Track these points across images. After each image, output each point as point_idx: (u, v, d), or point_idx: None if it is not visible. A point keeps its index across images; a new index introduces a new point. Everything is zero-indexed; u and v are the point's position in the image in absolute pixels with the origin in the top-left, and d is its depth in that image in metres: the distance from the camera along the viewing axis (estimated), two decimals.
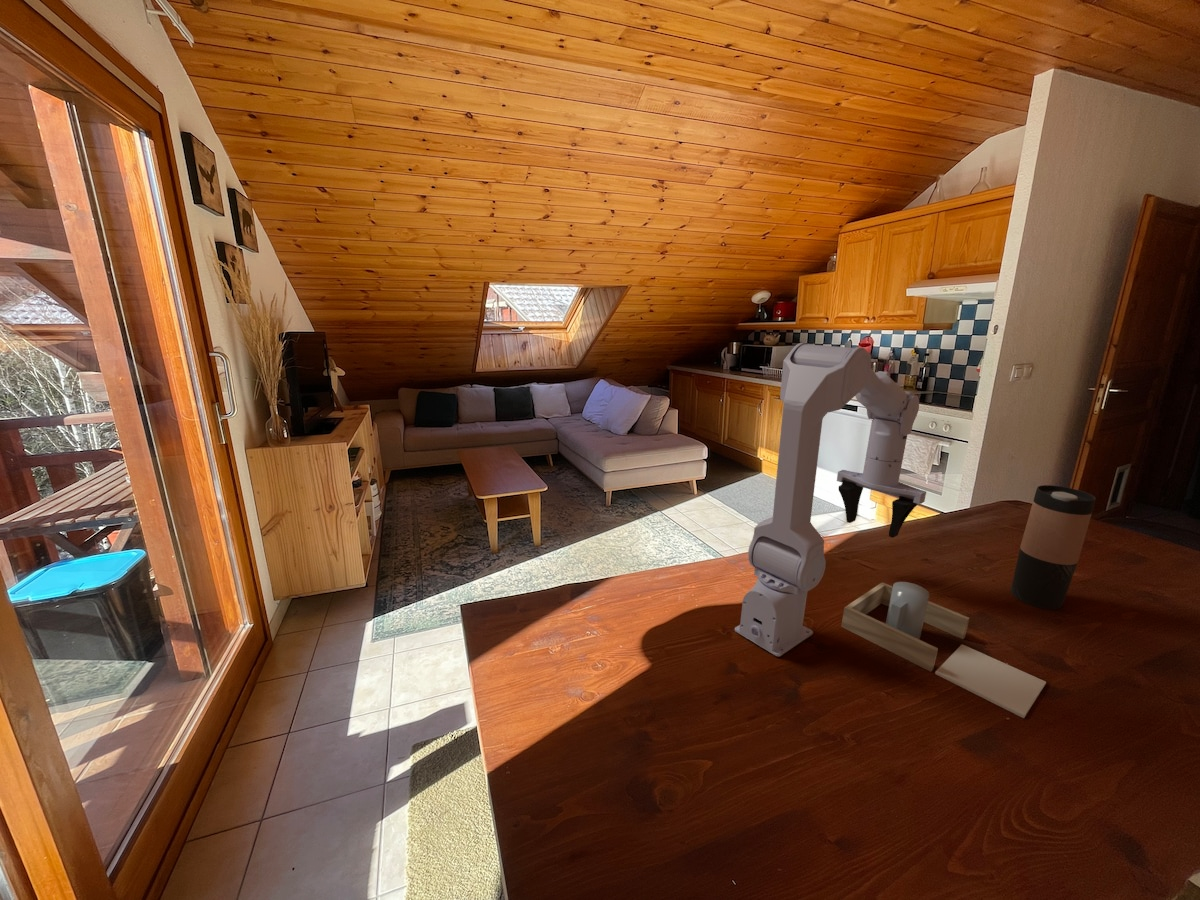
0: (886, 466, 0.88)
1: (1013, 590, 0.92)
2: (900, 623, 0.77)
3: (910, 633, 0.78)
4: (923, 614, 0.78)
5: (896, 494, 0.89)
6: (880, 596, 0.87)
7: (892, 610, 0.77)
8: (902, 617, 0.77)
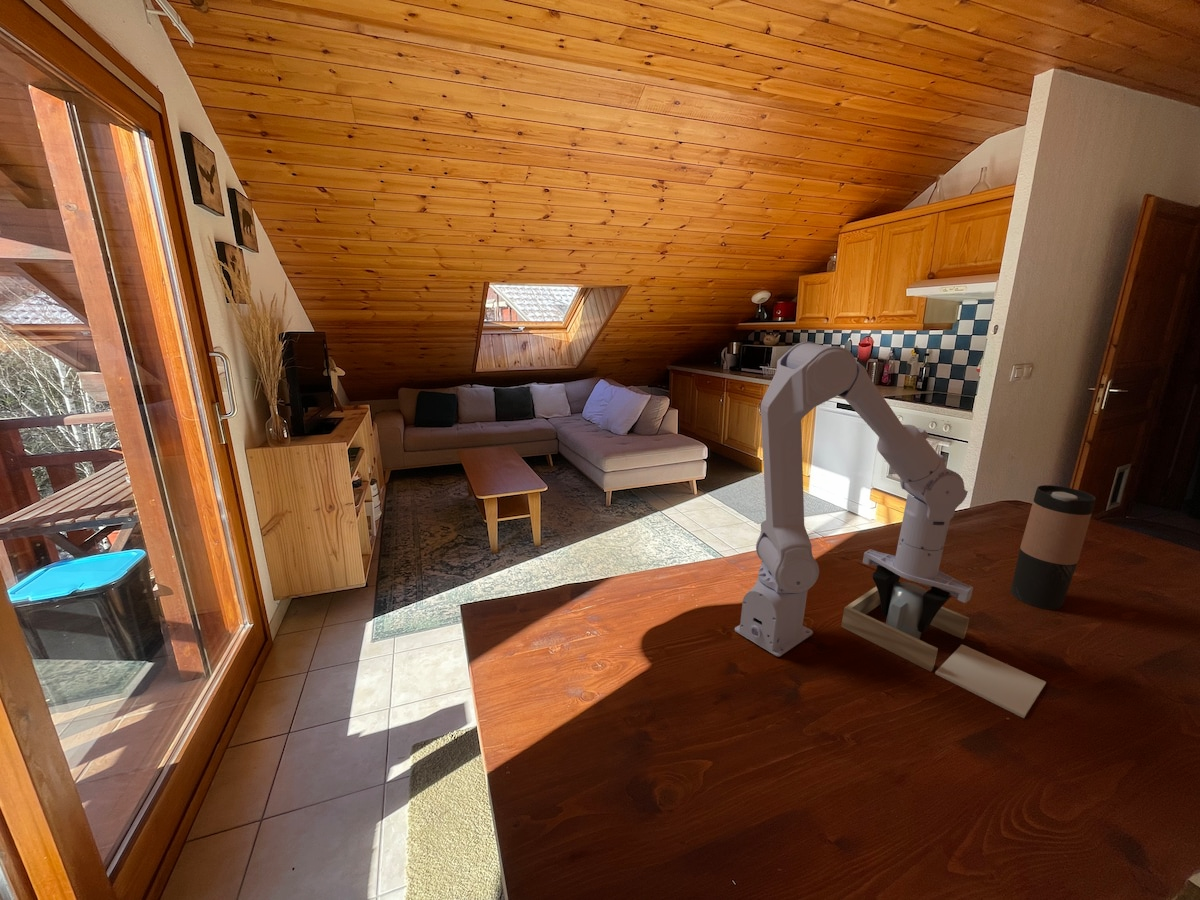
0: (925, 555, 0.74)
1: (1013, 590, 0.92)
2: (900, 623, 0.77)
3: (910, 633, 0.78)
4: None
5: (936, 587, 0.76)
6: None
7: (892, 610, 0.77)
8: (902, 617, 0.77)
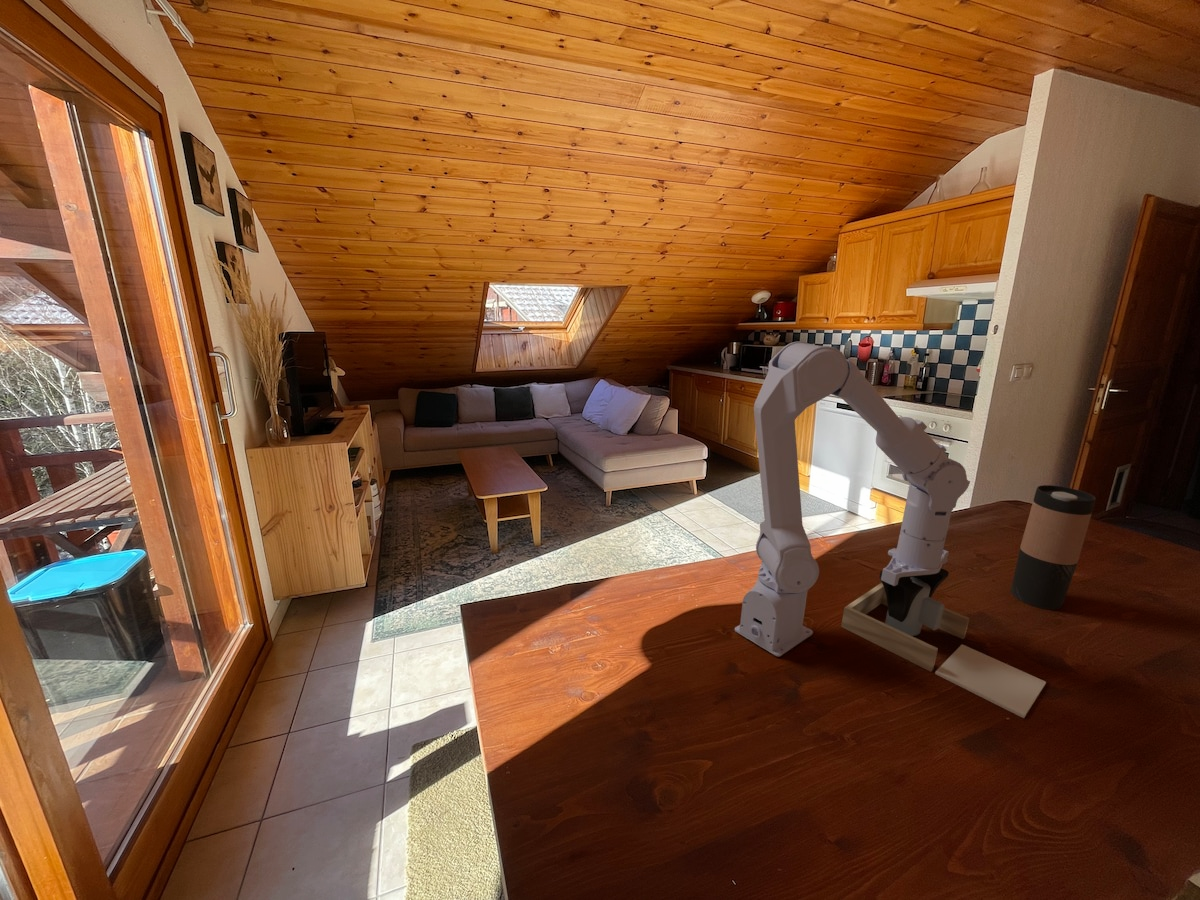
0: None
1: (1013, 590, 0.92)
2: None
3: None
4: None
5: None
6: (880, 596, 0.87)
7: (939, 612, 0.75)
8: None
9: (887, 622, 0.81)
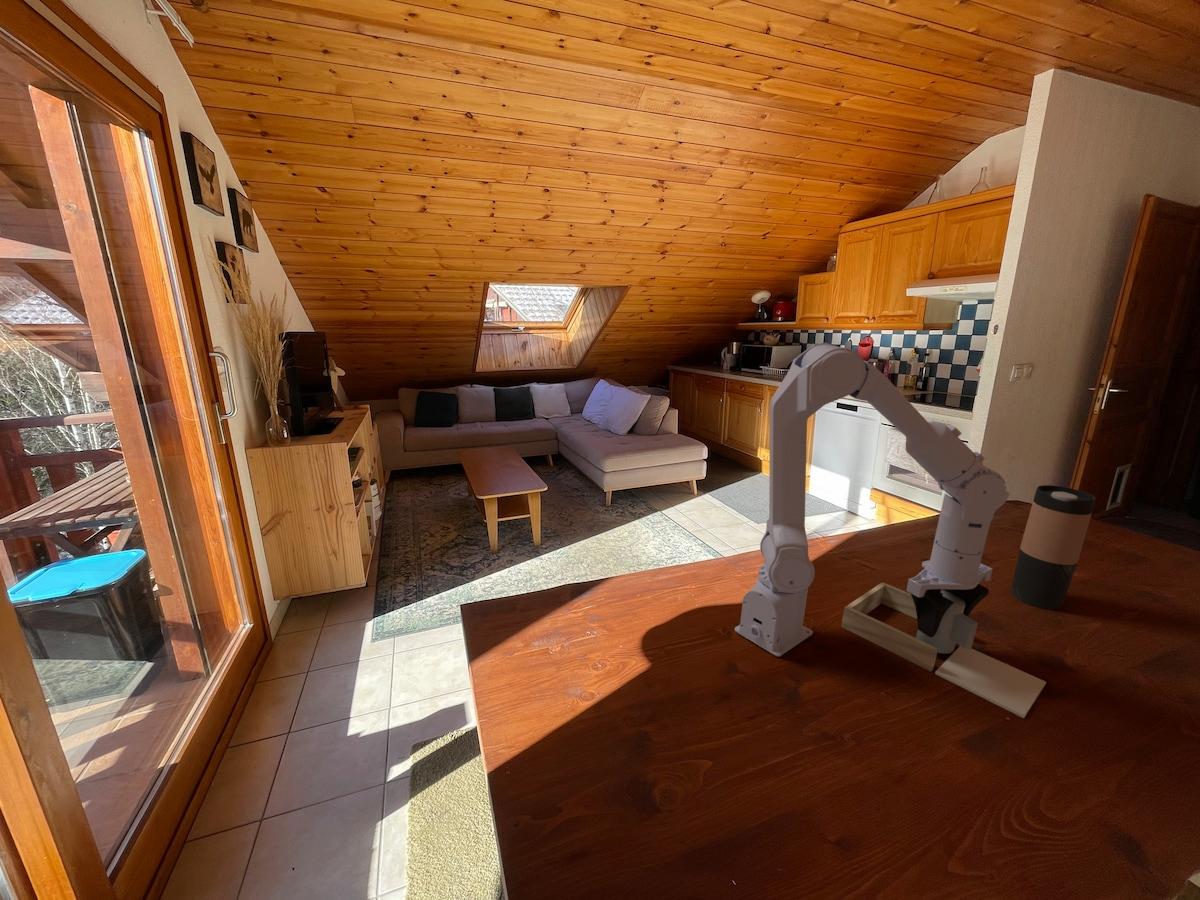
0: (981, 556, 0.71)
1: (1013, 590, 0.92)
2: None
3: None
4: None
5: None
6: (880, 596, 0.87)
7: (971, 630, 0.71)
8: None
9: (917, 637, 0.77)
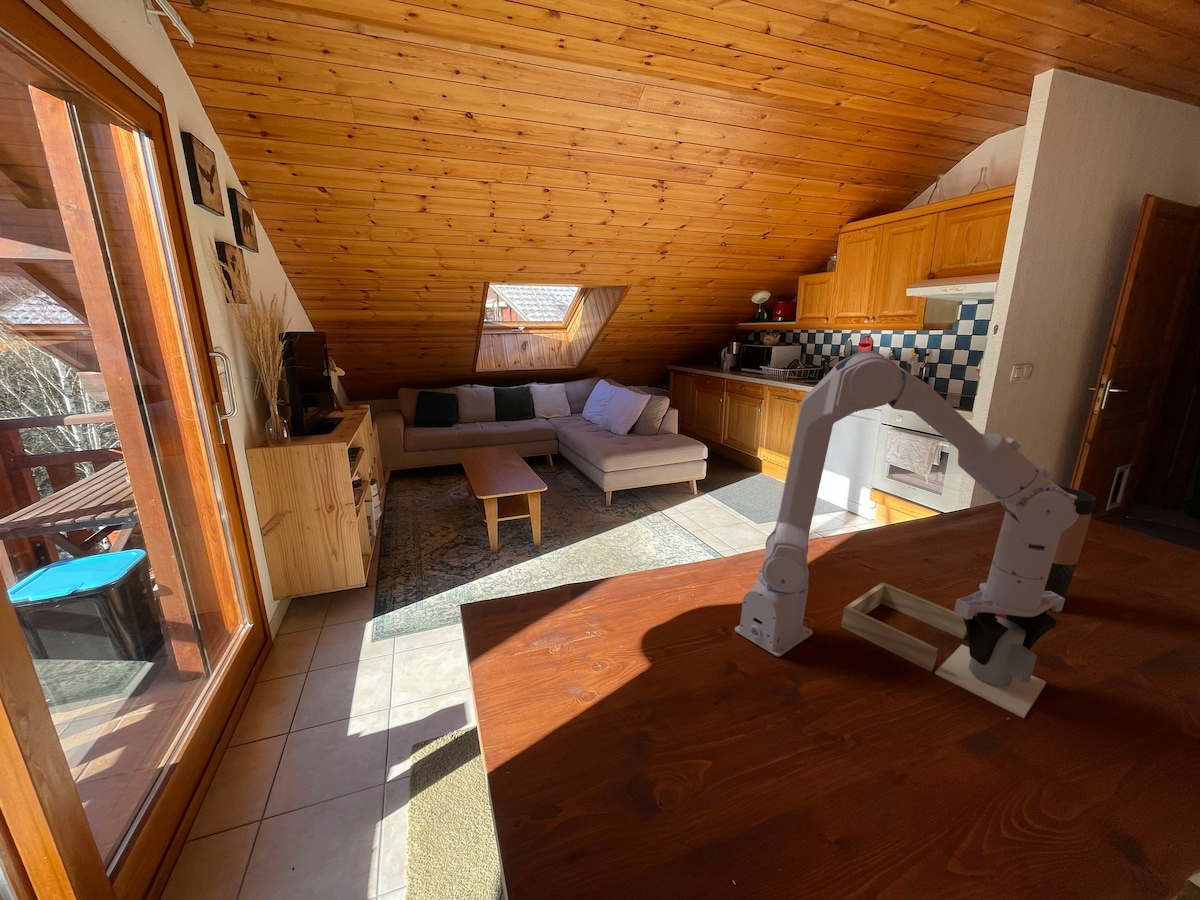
0: (1046, 582, 0.64)
1: None
2: None
3: None
4: None
5: None
6: (880, 596, 0.87)
7: (1028, 662, 0.65)
8: None
9: (969, 665, 0.72)
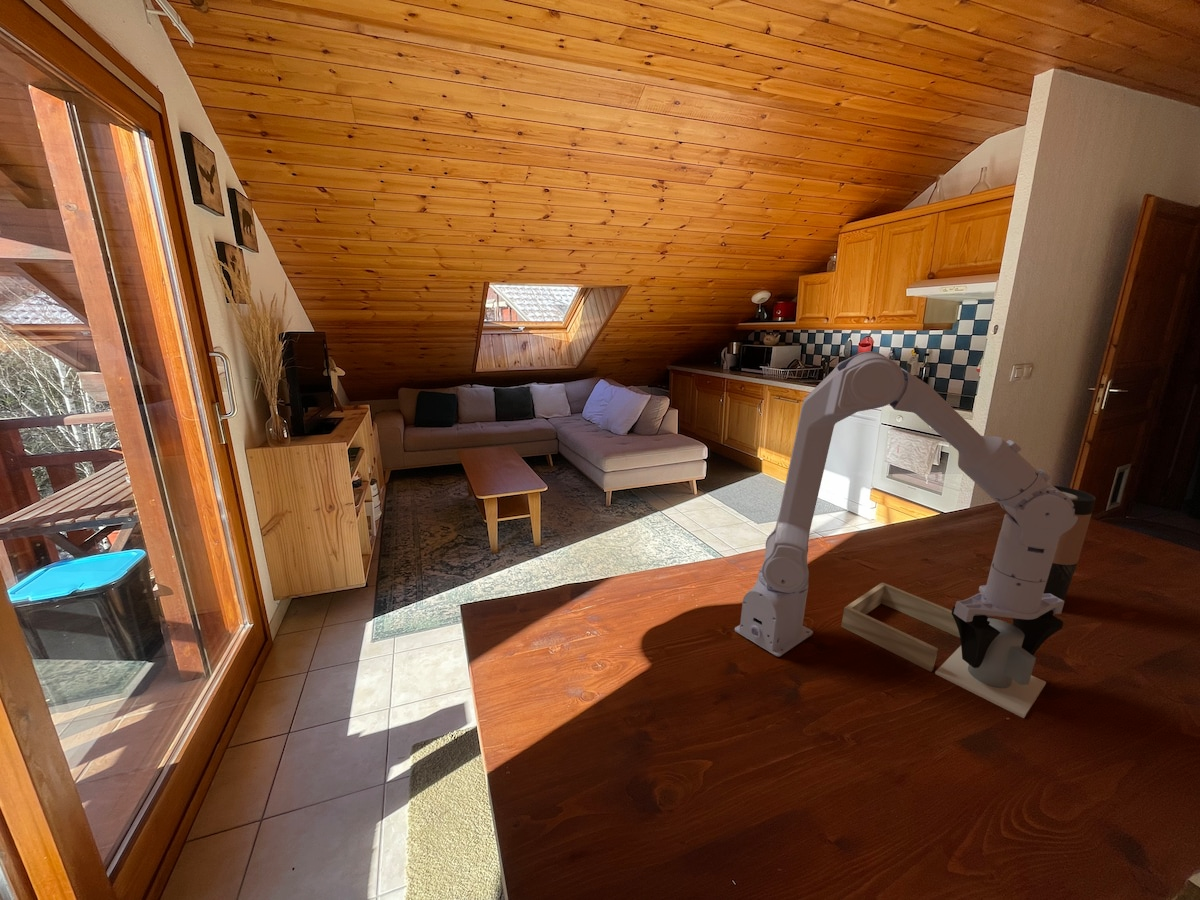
0: (1045, 585, 0.64)
1: None
2: None
3: None
4: None
5: None
6: (880, 596, 0.87)
7: (1027, 664, 0.65)
8: None
9: (969, 667, 0.72)
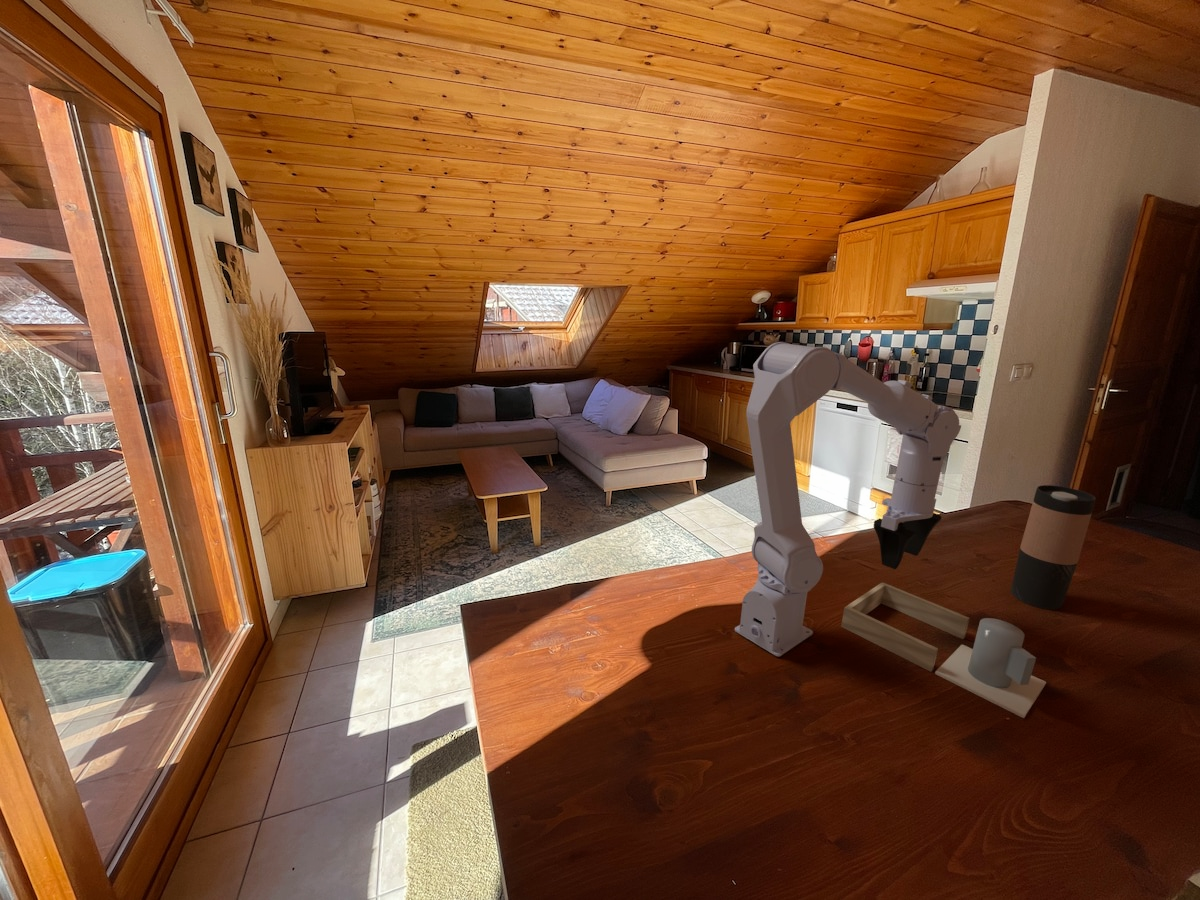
0: None
1: (1013, 590, 0.92)
2: None
3: None
4: None
5: None
6: (880, 596, 0.87)
7: (1027, 664, 0.65)
8: None
9: (969, 667, 0.72)
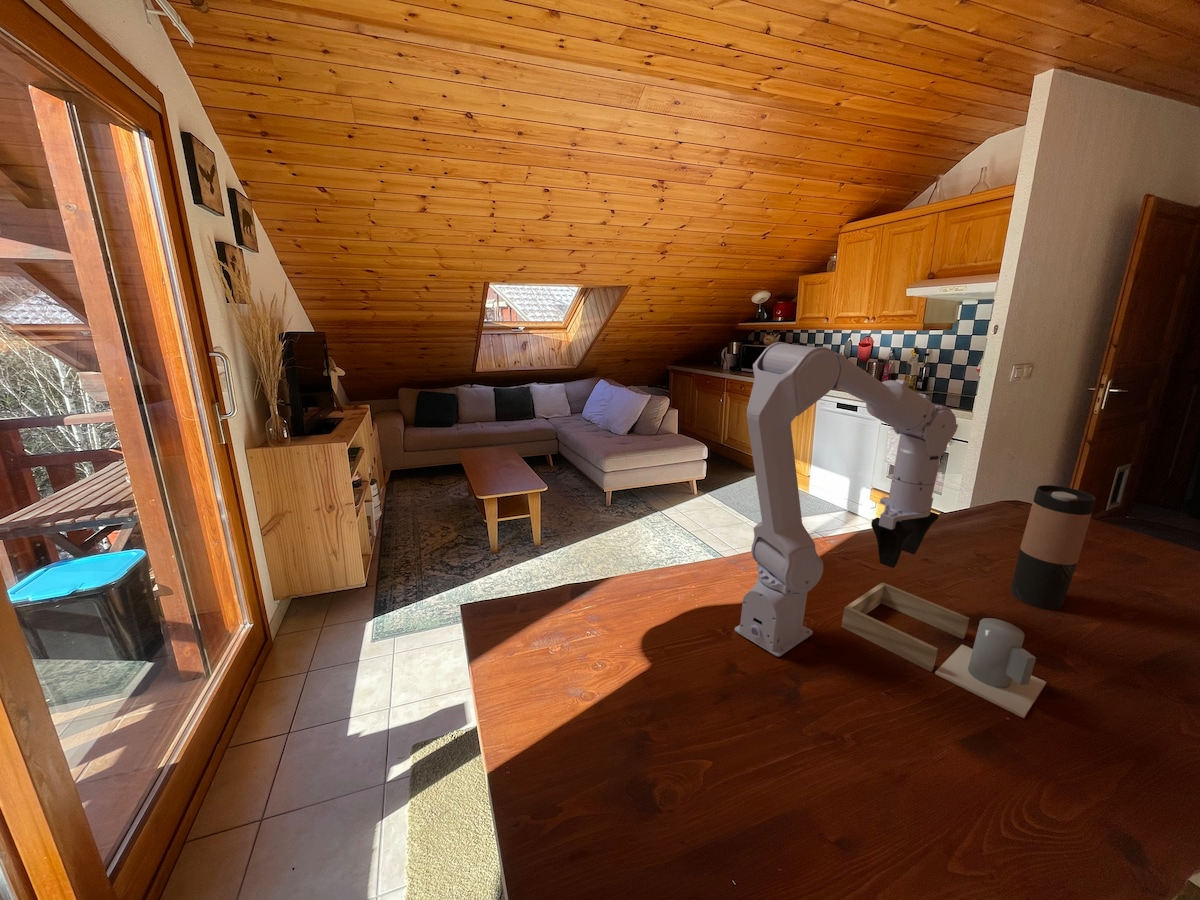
0: None
1: (1013, 590, 0.92)
2: None
3: None
4: None
5: None
6: (880, 596, 0.87)
7: (1027, 664, 0.65)
8: None
9: (969, 667, 0.72)
